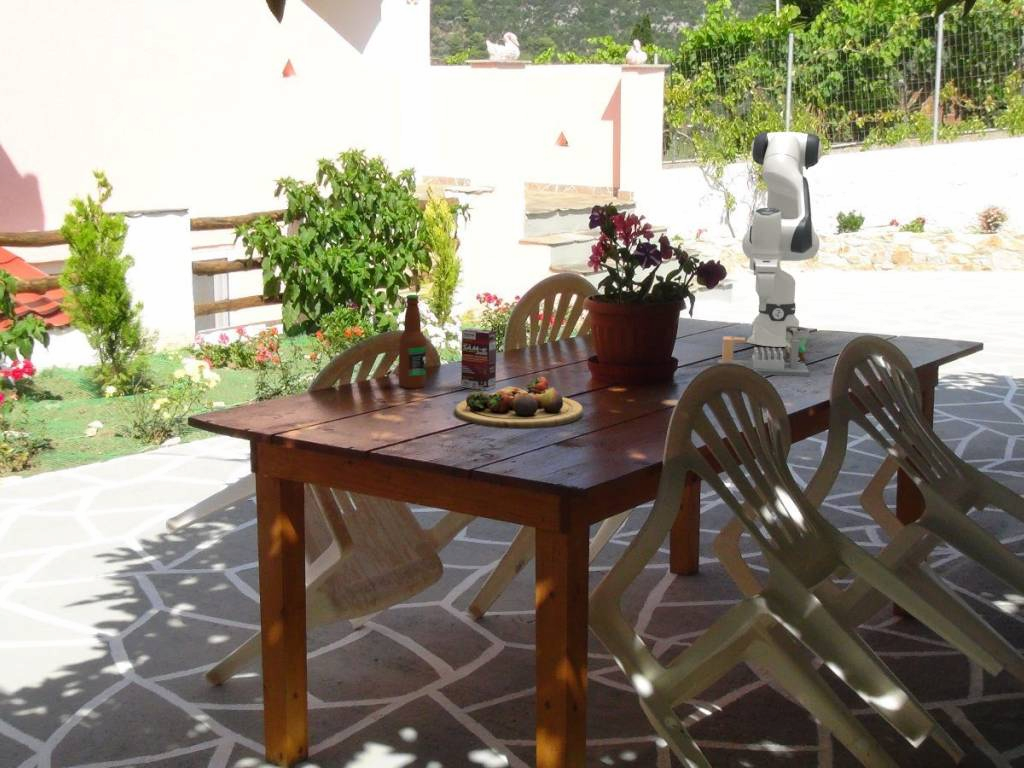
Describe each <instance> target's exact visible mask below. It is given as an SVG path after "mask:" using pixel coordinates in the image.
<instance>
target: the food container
mask: <svg viewBox="0 0 1024 768" xmlns="http://www.w3.org/2000/svg"><path fill="white" fill-rule="evenodd" d="M809 337H810V331H809V329H808V328H806V327H804V326H803V327H802V326H799V327H796V326H786V340H787V341H788V342H790V340H791V338H798V340H799V351H798V362H800V361H804V362H805V357H806V349H807V343H808V342H807V341H808V338H809ZM784 348H785V353H784V357H786V358H787V359H789V356H790V347H788V346H786V347H784ZM786 358H785V359H786ZM787 359H786V360H787ZM800 363H801V362H800Z"/></svg>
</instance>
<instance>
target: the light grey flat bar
mask: <svg viewBox="0 0 1024 768" xmlns="http://www.w3.org/2000/svg"><path fill="white" fill-rule="evenodd" d="M752 323H753V322H752ZM753 325H754V326H756V327H757V328H759V329H760V330H762V331H764V332H765V333H767V334H769V335H770V336H772V337H773V338H775V339H777V340H778V341H780V342H782V343H783V344H785V345H786V346H788V347H790V348H792V344H791V343H790V342H788V341H787V340H785V339H783V338H782V337H780V336H778V335H777V334H775V333H774V332H772V331H770V330H769V329H767V328H766V327H764V326H762V325H761V324H759V323H757V322H756V321H755V322H754V323H753Z"/></svg>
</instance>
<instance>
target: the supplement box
mask: <svg viewBox="0 0 1024 768" xmlns="http://www.w3.org/2000/svg"><path fill="white" fill-rule="evenodd" d="M497 333H498V332H497V330H488V329H482V328H481V329H479V328H473V327H472V328H471V327H470V328H466V329H463V330H461V375H460V376H461V377H460V378H461V379H460V383H461V387H460V388H468V389H475V390H480V391H481V390H482V389H484V390H483V391H490V390H493V389H495V388H496V382H497V381H496V376H497V375H496V373H497V371H496V369H497V367H496V366H497V335H498V334H497Z"/></svg>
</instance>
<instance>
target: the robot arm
mask: <svg viewBox="0 0 1024 768" xmlns="http://www.w3.org/2000/svg"><path fill="white" fill-rule="evenodd" d="M750 147H751V149H750V150H751V152H750V153H751V156H752V160H753V161H754V162H755V164H758V165H761V166H762V179H763V183H764V184H765V185H766V186H767V200H766V201H767V202H766V206H767V207H763V208H762V207H760V208H758V209H756V210H755V211H754V214H753V219H752V224H751V225H750V227H749V230H748V231H746V232H745V234H744V236H743V238H742V241H741V243H742V244H741V248H742V251H743V253H744V256H746V257H747V258H748V259H749V270H752V271H753V276H755V287H754V288H755V292H756V294H757V296H758V301H759V303H758V312H759V313H758V315H757V316H756V317H755V318H754V320H753V321H752V323H751V329H752V330H751V334H752V335H750V336H749V337H748V338H747V340H746V344H752V345H753V344H754V345H758V346H764V347H772V348H785V347H786V345H785V344H783V343H782V342H780V341H778V340H777V339H775V338H773V337H772V336H770V335H769V334H767V333H765V332H764V331H762V330H760V329H759V328H757V327H756V326H754V325H753V323H754V322H755V321H756V322H757V323H759V324H761V325H762V326H764V327H766V328H767V329H769V330H770V331H772V332H774V333H775V334H777V335H778V336H780V337H782V338H783V339H785V340H786V326H796V327H800V320H798V318H797V317H796V315H795V314H796V309H797V307H796V302H795V295H796V280H795V278H794V276H792V274H790V273H788V272H787V271H785V270H783V269H782V268H781V262H783V261H784V262H800V261H806V260H811V259H814V257H816V255H817V253H819V249H820V238H819V236H818V234H817V232H816V231H815V228H814V225H813V222H812V207H811V206H812V205H811V195H810V194H811V193H810V188H809V187H810V186H809V181H808V179H807V177H805V176H804V168H805V170H808V169H809V168H812V167H814V166H816V165H817V164H818V163H819V161H820V159H821V158H822V157H821V156H822V154H823V144H822V142H821V138H820V137H819V136H818V135H816V134H814V133H803V132H797V131H775V132H774V131H773V132H768V131H765V132H764V131H763V132H759V133H758V134H757V135H755V137H754V139H753V141H752V143H751V146H750Z"/></svg>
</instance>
